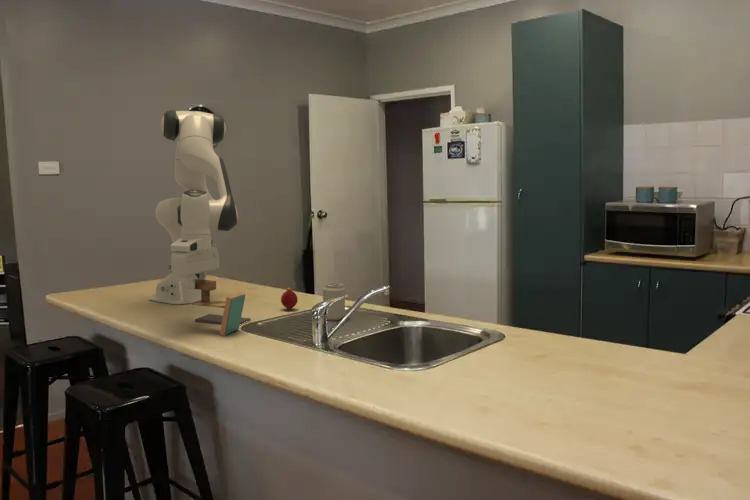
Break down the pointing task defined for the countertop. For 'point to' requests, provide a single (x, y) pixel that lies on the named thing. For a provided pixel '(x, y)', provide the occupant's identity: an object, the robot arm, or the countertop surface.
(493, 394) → the countertop surface
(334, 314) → the can
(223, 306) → the wooden trowel
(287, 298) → the onion
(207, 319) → the mat
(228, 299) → the tile
